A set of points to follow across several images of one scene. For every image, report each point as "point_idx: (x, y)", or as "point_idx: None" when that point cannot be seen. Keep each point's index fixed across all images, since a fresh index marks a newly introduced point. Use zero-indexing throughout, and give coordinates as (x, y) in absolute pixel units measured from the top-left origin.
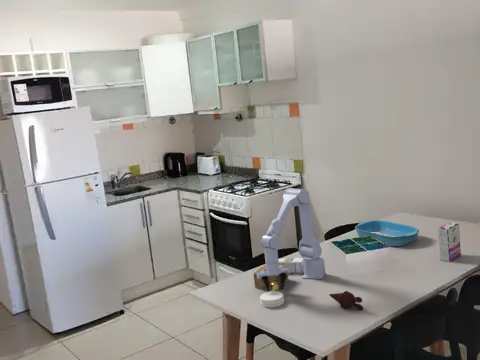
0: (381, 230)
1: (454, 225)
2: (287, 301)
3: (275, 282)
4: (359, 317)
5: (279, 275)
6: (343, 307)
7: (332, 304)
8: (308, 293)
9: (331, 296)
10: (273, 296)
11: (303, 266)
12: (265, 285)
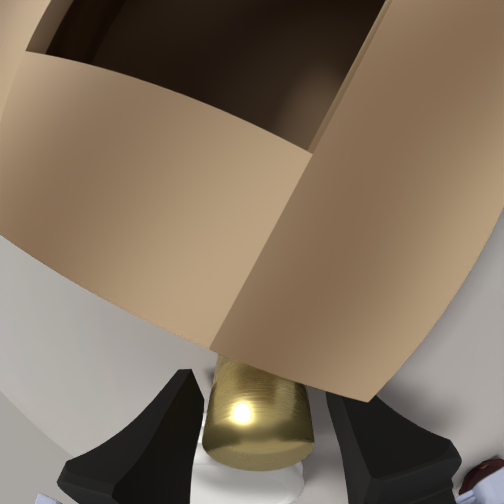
0: None
1: None
2: (319, 457)
3: (275, 437)
4: (456, 495)
5: (360, 491)
6: (469, 474)
7: (465, 461)
8: (472, 383)
9: (472, 488)
10: (232, 499)
11: None
12: (146, 411)
